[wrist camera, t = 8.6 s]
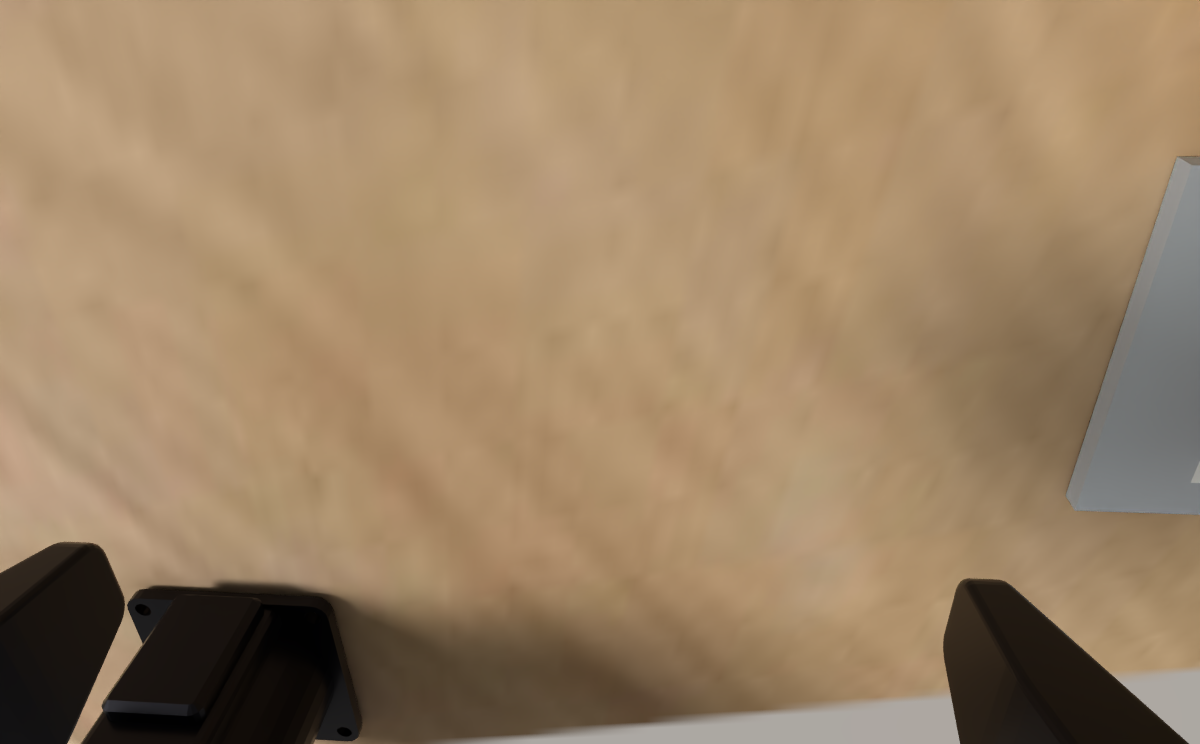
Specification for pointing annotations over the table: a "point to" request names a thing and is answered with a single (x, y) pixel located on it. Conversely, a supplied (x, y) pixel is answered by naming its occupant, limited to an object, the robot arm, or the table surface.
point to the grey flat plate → (1152, 376)
